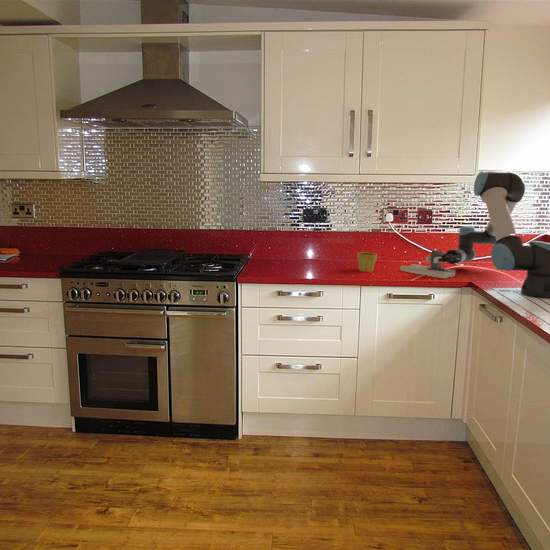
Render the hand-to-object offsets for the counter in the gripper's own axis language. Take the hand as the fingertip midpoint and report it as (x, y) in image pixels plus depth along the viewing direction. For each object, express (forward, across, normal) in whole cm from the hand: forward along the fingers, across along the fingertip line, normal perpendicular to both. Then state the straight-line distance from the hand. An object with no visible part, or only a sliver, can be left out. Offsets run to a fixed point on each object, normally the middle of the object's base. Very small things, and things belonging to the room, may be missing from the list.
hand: (430, 259), depth 257 cm
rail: (-5, +5, -8) cm, 11 cm away
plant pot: (+15, +29, -8) cm, 34 cm away
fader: (-5, 0, -6) cm, 8 cm away
